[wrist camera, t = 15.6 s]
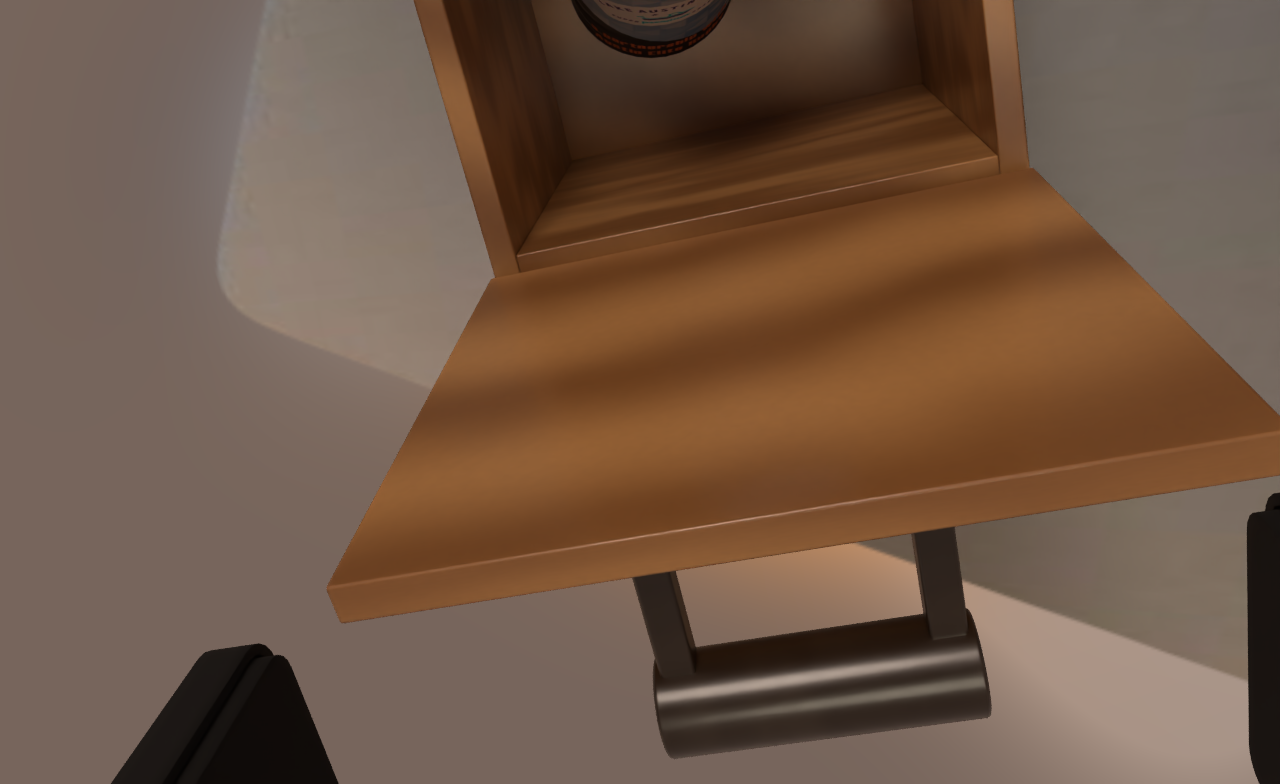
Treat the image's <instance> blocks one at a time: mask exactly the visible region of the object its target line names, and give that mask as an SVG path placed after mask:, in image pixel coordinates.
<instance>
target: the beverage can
mask: <svg viewBox="0 0 1280 784" xmlns="http://www.w3.org/2000/svg"><path fill="white" fill-rule="evenodd" d="M571 1H572V5H573V7H574V9H575V11H576V13H577V15H578V17H579V19H580V20H581V21H582V23H583V24H584V26H585V27H586V28H587V30H588V31H589V32H590V33H592V34H593V35H594V36H595V37H596V38H597V39H598V40H599V41H601V42H602V43H604V44H605V45H607V46H608V47H610V48H612V49H614V50H616V51H618V52H621V53H623V54H627V55H631V56H635V57H643V58H658V57H667V56H670V55H674V54H678V53H681V52H683V51H685V50H687V49H689V48H691V47H694V46H695V45H696V44H698V43H699V42H701V41H702V40H703V39H705V38H706V37H707V36H708V35H709V34H710V33H711V32H712V31H713V30H714V29H715V28H716V27H717V25H718V24H719V22H720V21H721V19H722V18H723V17H724V15H725V13H726V10H727V8H728V6H729V4H730V1H731V0H571Z"/></svg>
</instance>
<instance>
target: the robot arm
mask: <svg viewBox="0 0 1280 784" xmlns="http://www.w3.org/2000/svg"><path fill="white" fill-rule="evenodd" d="M1247 591H1248V688H1249V689H1248V690H1249V749H1250V755H1251V761H1252V764H1253V768H1254V771H1255V774H1256V777H1257V779H1258V781H1259V783H1260V784H1280V493H1275V494H1272V495H1271V496H1270V497H1269V498H1268V501H1267V504H1266V509H1265V511H1263V512H1256V513H1252V514H1251V515H1250V516H1249V519H1248V522H1247ZM111 784H338V781H337V779H336V776H335V774H334V771H333V769H332V766H331V764H330V761H329V759H328V757H327V754H326V751H325V749H324V746H323V744H322V742H321V739H320V737H319V734H318V732H317V729H316V727H315V724H314V722H313V720H312V717H311V714H310V712H309V710H308V707H307V705H306V702H305V700H304V697H303V695H302V692H301V690H300V687H299V685H298V682H297V680H296V677H295V675H294V672H293V670H292V667H291V666H290V664H289V662H288V660H287V659H285V657H284V656H281V655H275V656H274V655H273V653H272V651H271V650H270V649H269V648H268V647H267V646H265V645H262V644H253V645H245V646H238V647H232V648H225V649H218V650H211V651H208V652H205V653H204V654H203V655H202V656H201V657H200V658H199V659H198V660H197V661H196V663H195V664H194V666H193V667H192V669H191V670H190V672H189V673H188V674H187V676H186V677H185V679H184V680H183V681H182V683H181V684H180V686H179V687H178V689H177V690H176V691H175V693H174V694H173V696H172V697H171V699H170V700H169V701H168V703H167V704H166V706H165V707H164V709H163V710H162V711H161V713H160V714H159V716H158V717H157V719H156V720H155V722H154V723H153V724H152V726H151V727H150V729H149V730H148V732H147V733H146V734H145V736H144V737H143V739H142V740H141V741H140V743H139V744H138V746H137V747H136V749H135V750H134V751H133V753H132V754H131V756H130V757H129V759H128V760H127V761H126V763H125V764H124V766H123V767H122V769H121V770H120V771H119V773H118V774H117V776H116V777H115V779H114V780H113V781H112V783H111Z"/></svg>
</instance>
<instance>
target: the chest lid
mask: <svg viewBox="0 0 1280 784" xmlns="http://www.w3.org/2000/svg"><path fill="white" fill-rule="evenodd" d="M1279 475H1280V416H1279V415H1278V414H1277V413H1276V412H1275V411H1274V410H1273V409H1272V408H1271V407H1270V406H1269V405H1268V404H1267V403H1266V402H1265V401H1264V400H1263V399H1262V398H1261V397H1260V396H1259V395H1258V394H1257V393H1256V391H1255V390H1254V389H1253V388H1252V387H1251V386H1250V385H1249V384H1248V383H1247V382H1246V381H1245V380H1244V379H1243V378H1242V377H1241V376H1240V375H1239V374H1238V373H1237V372H1236V371H1235V370H1234V369H1233V368H1232V367H1231V366H1230V365H1229V364H1228V363H1227V362H1226V361H1225V360H1224V359H1223V358H1222V357H1221V356H1220V355H1219V354H1218V353H1217V352H1216V351H1215V350H1214V349H1213V348H1212V347H1211V346H1210V345H1209V344H1208V343H1207V342H1206V341H1205V340H1204V339H1203V338H1202V337H1201V336H1200V335H1199V334H1198V333H1197V332H1196V331H1195V330H1194V329H1193V328H1192V327H1191V326H1190V325H1189V324H1188V323H1187V322H1186V321H1185V320H1184V319H1183V318H1182V317H1181V316H1180V315H1179V314H1178V313H1177V312H1176V311H1175V310H1174V309H1173V308H1172V307H1171V306H1170V305H1169V304H1168V303H1167V302H1166V301H1165V300H1164V299H1163V298H1162V297H1161V296H1160V295H1159V294H1158V293H1157V292H1156V291H1155V290H1154V289H1153V288H1152V287H1151V286H1150V285H1149V284H1148V283H1147V282H1146V281H1145V280H1144V279H1143V278H1142V277H1141V276H1140V275H1139V274H1138V273H1137V272H1136V271H1135V270H1134V269H1133V268H1132V267H1131V266H1130V265H1129V264H1128V263H1127V262H1126V261H1125V260H1124V259H1123V258H1122V257H1121V256H1120V255H1119V254H1118V253H1117V252H1116V251H1115V250H1114V249H1113V248H1112V247H1111V246H1110V245H1109V244H1108V243H1107V242H1106V241H1105V240H1104V239H1103V238H1102V237H1101V236H1100V235H1099V234H1098V233H1097V232H1096V231H1095V230H1094V229H1093V228H1092V227H1091V226H1090V225H1089V224H1088V223H1087V222H1086V221H1085V219H1084V218H1083V217H1082V216H1081V215H1080V214H1079V213H1078V212H1077V211H1076V210H1075V209H1074V208H1073V207H1072V206H1071V205H1070V204H1069V203H1068V202H1067V201H1066V200H1065V199H1064V198H1063V197H1062V196H1061V195H1060V194H1059V193H1058V192H1057V191H1056V190H1055V189H1054V188H1053V187H1052V186H1051V185H1050V184H1049V183H1048V182H1047V181H1046V180H1045V179H1044V178H1043V177H1042V176H1041V175H1040V174H1039V173H1038V172H1037V171H1036V170H1035V169H1034V168H1029V169H1024V170H1020V171H1015V172H1010V173H1005V174H1000V175H995V176H990V177H985V178H981V179H976V180H971V181H966V182H961V183H956V184H951V185H946V186H942V187H937V188H932V189H927V190H922V191H917V192H912V193H908V194H903V195H898V196H893V197H888V198H883V199H878V200H873V201H869V202H864V203H859V204H854V205H849V206H844V207H839V208H834V209H830V210H825V211H820V212H815V213H810V214H805V215H800V216H795V217H791V218H786V219H781V220H776V221H771V222H766V223H761V224H757V225H752V226H747V227H742V228H737V229H732V230H727V231H722V232H718V233H713V234H708V235H703V236H698V237H693V238H688V239H683V240H679V241H674V242H669V243H664V244H659V245H654V246H649V247H644V248H640V249H635V250H630V251H625V252H620V253H615V254H610V255H606V256H601V257H596V258H591V259H586V260H581V261H576V262H571V263H567V264H562V265H557V266H552V267H547V268H542V269H537V270H532V271H528V272H523V273H518V274H513V275H508V276H503V277H498V278H493V279H491V280H490V282H489V284H488V286H487V288H486V290H485V291H484V293H483V295H482V297H481V299H480V301H479V303H478V305H477V306H476V308H475V310H474V312H473V314H472V316H471V318H470V320H469V321H468V323H467V325H466V327H465V329H464V331H463V333H462V334H461V336H460V338H459V340H458V342H457V344H456V346H455V348H454V349H453V351H452V353H451V355H450V357H449V359H448V361H447V363H446V364H445V366H444V368H443V370H442V372H441V374H440V376H439V378H438V379H437V381H436V383H435V385H434V387H433V389H432V391H431V392H430V394H429V396H428V398H427V400H426V402H425V404H424V406H423V407H422V409H421V411H420V413H419V415H418V417H417V419H416V421H415V422H414V424H413V426H412V428H411V430H410V432H409V434H408V436H407V437H406V439H405V441H404V443H403V445H402V447H401V449H400V451H399V452H398V454H397V456H396V458H395V460H394V462H393V464H392V466H391V467H390V469H389V471H388V473H387V475H386V477H385V479H384V480H383V483H382V484H381V486H380V488H379V490H378V492H377V494H376V496H375V497H374V499H373V501H372V503H371V505H370V507H369V509H368V510H367V512H366V514H365V516H364V518H363V520H362V522H361V524H360V525H359V527H358V529H357V531H356V533H355V535H354V537H353V539H352V540H351V542H350V544H349V546H348V548H347V550H346V552H345V553H344V555H343V558H342V559H341V561H340V563H339V565H338V566H337V568H336V570H335V572H334V574H333V576H332V578H331V580H330V582H329V583H328V585H327V592H328V594H329V597H330V599H331V602H332V604H333V606H334V609H335V611H336V613H337V616H338V618H339V620H340V622H341V623H348V622H355V621H361V620H368V619H374V618H380V617H387V616H393V615H399V614H406V613H412V612H418V611H424V610H431V609H437V608H443V607H450V606H456V605H463V604H469V603H475V602H482V601H487V600H494V599H501V598H507V597H513V596H519V595H526V594H532V593H538V592H545V591H551V590H557V589H564V588H570V587H576V586H583V585H589V584H595V583H601V582H608V581H614V580H621V579H627V578H632V579H633V582H634V586H635V589H636V592H637V596H638V600H639V603H640V606H641V610H642V614H643V617H644V621H645V625H646V628H647V632H648V635H649V638H650V642H651V645H652V649H653V652H654V656H655V660H654V666H653V690H654V701H655V709H656V716H657V721H658V726H659V731H660V735H661V739H662V742H663V745H664V748H665V750H666V752H667V754H668V755H669V757H670V758H673V759H677V758H685V757H693V756H700V755H708V754H715V753H722V752H731V751H738V750H746V749H754V748H761V747H769V746H777V745H784V744H792V743H799V742H806V741H815V740H822V739H830V738H837V737H845V736H852V735H860V734H868V733H875V732H883V731H890V730H898V729H906V728H914V727H921V726H929V725H937V724H943V723H952V722H959V721H966V720H974V719H982V718H988V717H989V716H990V715H991V697H990V690H989V683H988V677H987V672H986V667H985V662H984V657H983V653H982V649H981V644H980V640H979V636H978V633H977V629H976V626H975V623H974V620H973V618H972V615H971V613H970V611H969V610H968V609H966V608H965V600H964V593H963V585H962V578H961V571H960V563H959V556H958V549H957V541H956V534H955V527H956V526H962V525H969V524H975V523H981V522H988V521H994V520H1000V519H1007V518H1013V517H1019V516H1026V515H1032V514H1038V513H1045V512H1051V511H1057V510H1064V509H1070V508H1076V507H1083V506H1089V505H1095V504H1102V503H1108V502H1114V501H1120V500H1127V499H1133V498H1139V497H1146V496H1152V495H1158V494H1165V493H1171V492H1177V491H1184V490H1190V489H1196V488H1203V487H1209V486H1215V485H1222V484H1228V483H1234V482H1241V481H1247V480H1253V479H1260V478H1266V477H1272V476H1279ZM905 534H911V536H912V542H913V549H914V555H915V561H916V568H917V574H918V580H919V587H920V594H921V600H922V607H923V613H924V614H919V615H912V616H905V617H898V618H892V619H885V620H878V621H871V622H865V623H857V624H851V625H844V626H837V627H830V628H823V629H816V630H810V631H803V632H796V633H789V634H782V635H776V636H769V637H762V638H755V639H748V640H742V641H735V642H728V643H721V644H714V645H707V646H701V647H696V646H695V643H694V639H693V635H692V631H691V627H690V624H689V620H688V616H687V612H686V609H685V605H684V601H683V597H682V593H681V590H680V586H679V582H678V578H677V575H676V571H678V570H683V569H690V568H697V567H703V566H708V565H716V564H722V563H728V562H735V561H741V560H747V559H754V558H759V557H766V556H772V555H779V554H785V553H791V552H798V551H804V550H811V549H817V548H823V547H829V546H836V545H841V544H848V543H855V542H861V541H867V540H874V539H880V538H886V537H893V536H899V535H905Z"/></svg>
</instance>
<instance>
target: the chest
mask: <svg viewBox="0 0 1280 784" xmlns="http://www.w3.org/2000/svg"><path fill="white" fill-rule="evenodd" d="M414 3H415V7H416V10H417V14H418V17H419V20H420V24H421V27H422V31H423V34H424V37H425V41H426V44H427V48H428V51H429V54H430V58H431V61H432V65H433V68H434V71H435V75H436V78H437V81H438V85H439V88H440V92H441V95H442V98H443V102H444V105H445V109H446V112H447V115H448V119H449V122H450V126H451V129H452V132H453V136H454V139H455V143H456V146H457V149H458V153H459V156H460V160H461V163H462V166H463V170H464V173H465V177H466V180H467V183H468V187H469V190H470V194H471V197H472V200H473V204H474V207H475V210H476V214H477V217H478V221H479V224H480V227H481V231H482V234H483V238H484V241H485V244H486V248H487V251H488V255H489V258H490V261H491V265H492V268H493V272H494V275H495V278H498V277H503V276H508V275H513V274H518V273H523V272H528V271H532V270H537V269H542V268H547V267H552V266H557V265H562V264H567V263H571V262H576V261H581V260H586V259H591V258H596V257H601V256H606V255H610V254H615V253H620V252H625V251H630V250H635V249H640V248H644V247H649V246H654V245H659V244H664V243H669V242H674V241H679V240H683V239H688V238H693V237H698V236H703V235H708V234H713V233H718V232H722V231H727V230H732V229H737V228H742V227H747V226H752V225H757V224H761V223H766V222H771V221H776V220H781V219H786V218H791V217H795V216H800V215H805V214H810V213H815V212H820V211H825V210H830V209H834V208H839V207H844V206H849V205H854V204H859V203H864V202H869V201H873V200H878V199H883V198H888V197H893V196H898V195H903V194H908V193H912V192H917V191H922V190H927V189H932V188H937V187H942V186H946V185H951V184H956V183H961V182H966V181H971V180H976V179H981V178H985V177H990V176H995V175H1000V174H1005V173H1010V172H1015V171H1020V170H1024V169H1029V158H1028V147H1027V137H1026V127H1025V116H1024V106H1023V95H1022V85H1021V75H1020V64H1019V54H1018V44H1017V33H1016V23H1015V13H1014V2H1013V0H731V1H730V4H729V6H728V8H727V10H726V13H725V15H724V17H723V18H722V19H721V21H720V22H719V24H718V25H717V27H716V28H715V29H714V30H713V31H712V32H711V33H710V34H709V35H708V36H707V37H706V38H705V39H703V40H702V41H701V42H699V43H698V44H696V45H695V46H694V47H691V48H689V49H687V50H685V51H683V52H681V53H678V54H674V55H670V56H667V57H658V58H643V57H635V56H631V55H627V54H623V53H621V52H618V51H616V50H614V49H612V48H610V47H608V46H607V45H605V44H604V43H602V42H601V41H599V40H598V39H597V38H596V37H595V36H594V35H593V34H592V33H590V32H589V31H588V30H587V28H586V27H585V26H584V24H583V23H582V21H581V20H580V19H579V17H578V15H577V13H576V11H575V9H574V7H573V5H572V1H571V0H414Z"/></svg>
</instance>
